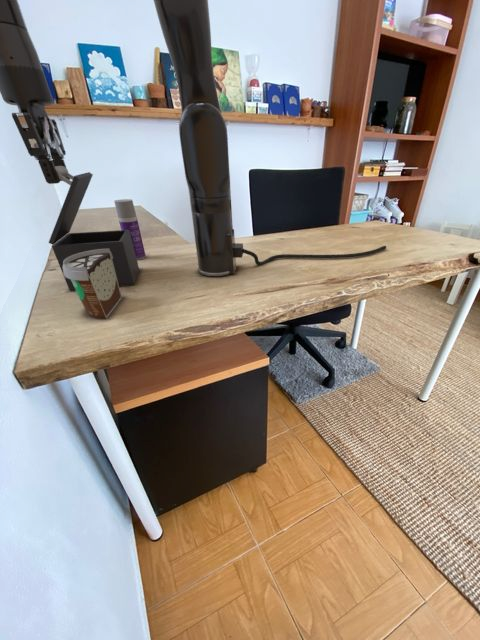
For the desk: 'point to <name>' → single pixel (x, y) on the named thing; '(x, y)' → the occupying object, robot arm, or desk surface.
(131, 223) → the container
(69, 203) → the lid
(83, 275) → the food container
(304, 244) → the desk surface
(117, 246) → the dark grey open box
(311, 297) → the desk surface
